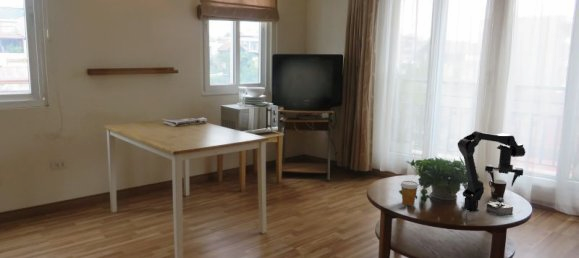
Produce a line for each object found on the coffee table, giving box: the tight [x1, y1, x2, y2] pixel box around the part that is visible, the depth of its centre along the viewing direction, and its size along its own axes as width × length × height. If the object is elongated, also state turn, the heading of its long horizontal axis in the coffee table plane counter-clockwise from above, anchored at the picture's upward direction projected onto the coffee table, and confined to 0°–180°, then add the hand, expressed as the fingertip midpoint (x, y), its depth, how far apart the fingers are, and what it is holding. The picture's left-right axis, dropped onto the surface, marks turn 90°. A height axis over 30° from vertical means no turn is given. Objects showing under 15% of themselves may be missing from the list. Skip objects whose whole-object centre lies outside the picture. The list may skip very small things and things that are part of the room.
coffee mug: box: [488, 179, 508, 200], centre depth 278 cm, size 12×9×10 cm
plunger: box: [496, 197, 504, 206], centre depth 252 cm, size 3×3×7 cm
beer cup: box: [400, 180, 419, 207], centre depth 262 cm, size 10×10×12 cm
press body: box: [485, 200, 514, 217], centre depth 253 cm, size 9×12×4 cm
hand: (502, 185), depth 259 cm, fingers open, 9 cm apart
